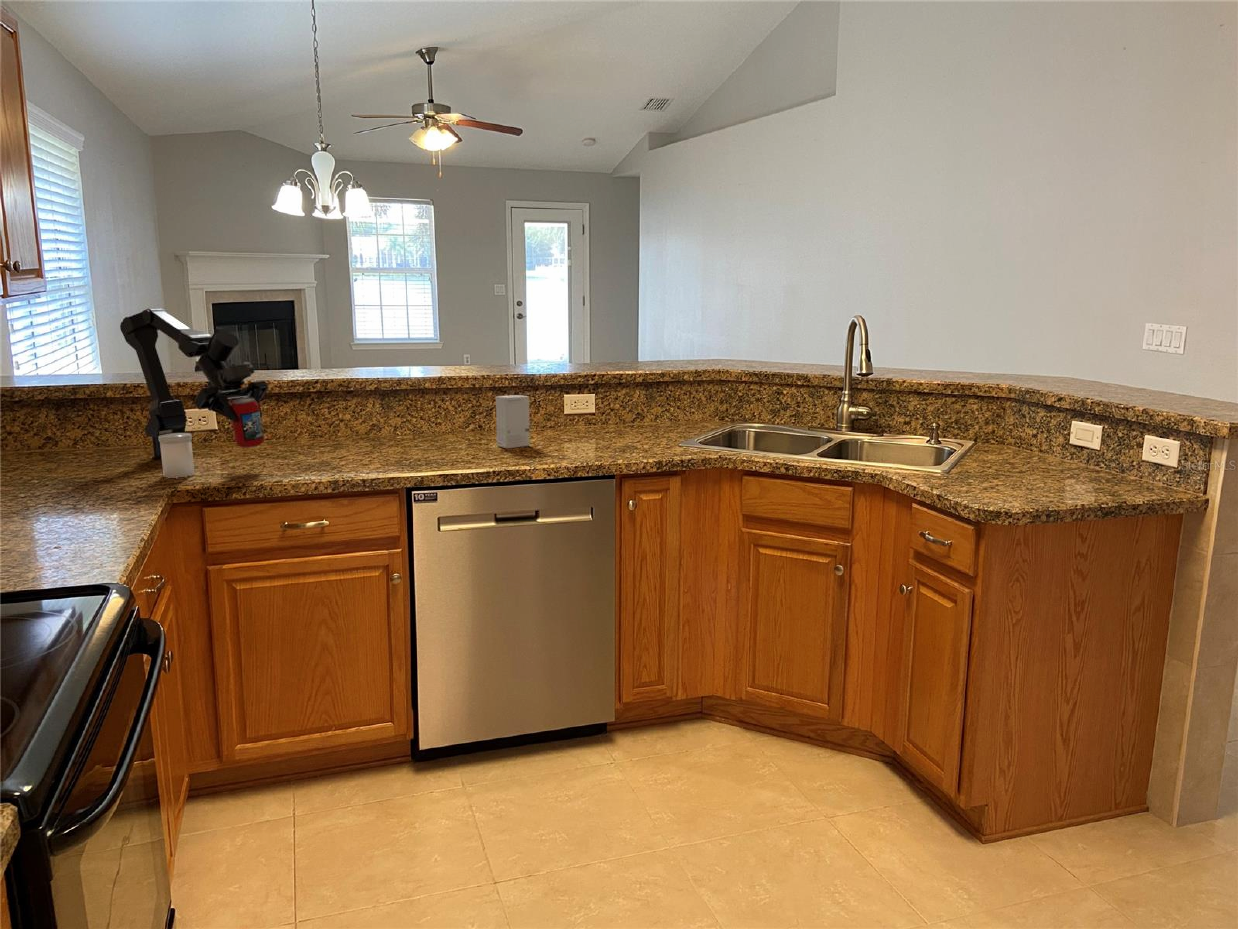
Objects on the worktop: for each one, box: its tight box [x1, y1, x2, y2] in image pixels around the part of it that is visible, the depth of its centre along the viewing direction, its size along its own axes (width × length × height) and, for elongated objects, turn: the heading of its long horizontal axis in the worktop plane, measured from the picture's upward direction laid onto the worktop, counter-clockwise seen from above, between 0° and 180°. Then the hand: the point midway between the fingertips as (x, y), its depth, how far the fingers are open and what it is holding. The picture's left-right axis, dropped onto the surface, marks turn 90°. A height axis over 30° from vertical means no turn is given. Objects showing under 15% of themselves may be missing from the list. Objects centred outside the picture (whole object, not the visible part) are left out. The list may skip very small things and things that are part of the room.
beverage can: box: [230, 397, 265, 449], centre depth 229 cm, size 7×7×12 cm
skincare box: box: [495, 394, 531, 450], centre depth 262 cm, size 8×6×15 cm
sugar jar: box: [158, 432, 195, 479], centre depth 224 cm, size 7×7×10 cm
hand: (249, 419), depth 228 cm, fingers closed on beverage can, 6 cm apart
